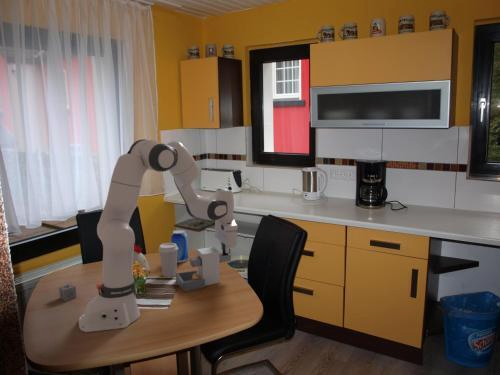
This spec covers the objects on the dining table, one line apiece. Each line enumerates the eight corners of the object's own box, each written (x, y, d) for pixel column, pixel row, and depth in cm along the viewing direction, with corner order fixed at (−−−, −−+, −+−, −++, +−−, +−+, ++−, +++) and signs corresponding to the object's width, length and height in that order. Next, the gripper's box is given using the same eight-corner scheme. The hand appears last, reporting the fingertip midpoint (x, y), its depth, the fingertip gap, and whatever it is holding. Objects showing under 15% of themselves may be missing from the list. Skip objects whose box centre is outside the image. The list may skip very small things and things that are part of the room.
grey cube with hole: (71, 294, 185) (70, 283, 184) (76, 297, 182) (75, 286, 181) (59, 298, 182) (58, 287, 181) (64, 301, 178) (63, 290, 177)
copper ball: (199, 274, 192) (202, 281, 193) (197, 271, 196) (199, 278, 197) (191, 277, 191) (193, 285, 192) (189, 274, 195) (191, 282, 196)
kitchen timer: (142, 280, 200) (140, 249, 197) (115, 278, 203) (113, 248, 200) (154, 269, 213) (152, 241, 211) (129, 268, 216) (127, 239, 213)
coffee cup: (183, 273, 207) (182, 244, 204) (170, 280, 199) (168, 249, 197) (169, 269, 212) (167, 241, 210) (155, 276, 204) (153, 246, 202)
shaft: (192, 267, 190) (191, 249, 189) (190, 264, 194) (189, 246, 193) (230, 260, 198) (230, 243, 196) (227, 258, 201) (227, 241, 200)
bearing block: (203, 285, 192) (202, 254, 189) (198, 279, 199) (197, 249, 196) (220, 282, 195) (219, 251, 192) (214, 276, 202) (213, 246, 200)
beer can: (170, 262, 222) (168, 233, 220) (175, 257, 231) (174, 229, 228) (185, 263, 221) (184, 234, 218) (190, 258, 229) (189, 229, 226)
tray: (183, 291, 186) (183, 283, 185) (176, 281, 197) (175, 273, 197) (205, 287, 190) (204, 279, 189) (196, 277, 201) (196, 269, 201)
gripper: (211, 218, 204) (211, 246, 206) (226, 228, 185) (226, 258, 188) (223, 217, 206) (224, 244, 209) (239, 227, 188) (239, 256, 190)
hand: (225, 251), depth 198 cm, fingers closed on shaft, 3 cm apart
